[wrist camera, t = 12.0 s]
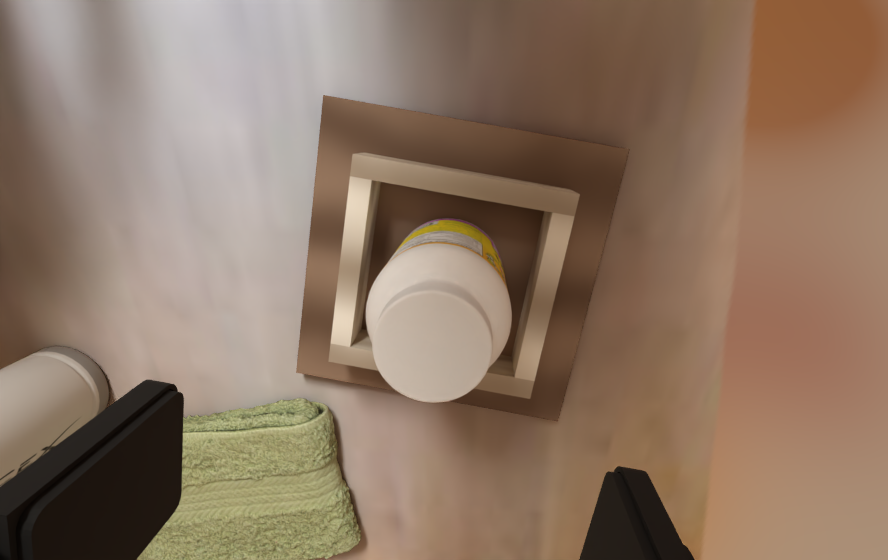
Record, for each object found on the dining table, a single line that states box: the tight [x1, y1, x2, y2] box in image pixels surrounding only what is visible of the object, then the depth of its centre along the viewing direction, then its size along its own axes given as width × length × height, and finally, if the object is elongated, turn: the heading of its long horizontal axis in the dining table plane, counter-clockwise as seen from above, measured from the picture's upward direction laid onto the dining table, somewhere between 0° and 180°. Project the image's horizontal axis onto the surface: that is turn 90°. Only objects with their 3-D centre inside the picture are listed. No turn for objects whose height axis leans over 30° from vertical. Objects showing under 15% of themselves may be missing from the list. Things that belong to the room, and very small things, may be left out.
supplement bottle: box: [366, 218, 512, 403], centre depth 25 cm, size 7×7×13 cm
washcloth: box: [137, 398, 361, 560], centre depth 37 cm, size 13×18×3 cm
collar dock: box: [296, 95, 630, 421], centre depth 31 cm, size 18×18×4 cm
